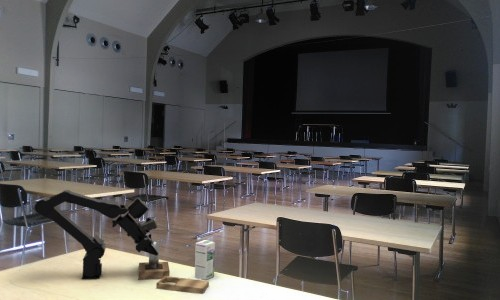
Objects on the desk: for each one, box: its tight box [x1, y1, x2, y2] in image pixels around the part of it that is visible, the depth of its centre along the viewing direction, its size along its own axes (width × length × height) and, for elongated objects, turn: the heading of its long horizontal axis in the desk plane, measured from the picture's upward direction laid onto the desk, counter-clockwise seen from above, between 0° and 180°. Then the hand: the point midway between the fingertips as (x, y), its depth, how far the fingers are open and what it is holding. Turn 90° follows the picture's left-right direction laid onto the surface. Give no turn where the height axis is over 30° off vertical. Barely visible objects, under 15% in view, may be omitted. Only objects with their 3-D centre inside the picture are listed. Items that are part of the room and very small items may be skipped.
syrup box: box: [194, 239, 216, 281], centre depth 171 cm, size 6×6×14 cm
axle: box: [148, 239, 161, 270], centre depth 172 cm, size 4×4×12 cm
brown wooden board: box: [155, 275, 210, 295], centre depth 159 cm, size 18×8×2 cm, turn 79°
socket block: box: [137, 261, 171, 281], centre depth 172 cm, size 12×12×3 cm
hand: (157, 253), depth 172 cm, fingers closed on axle, 4 cm apart
